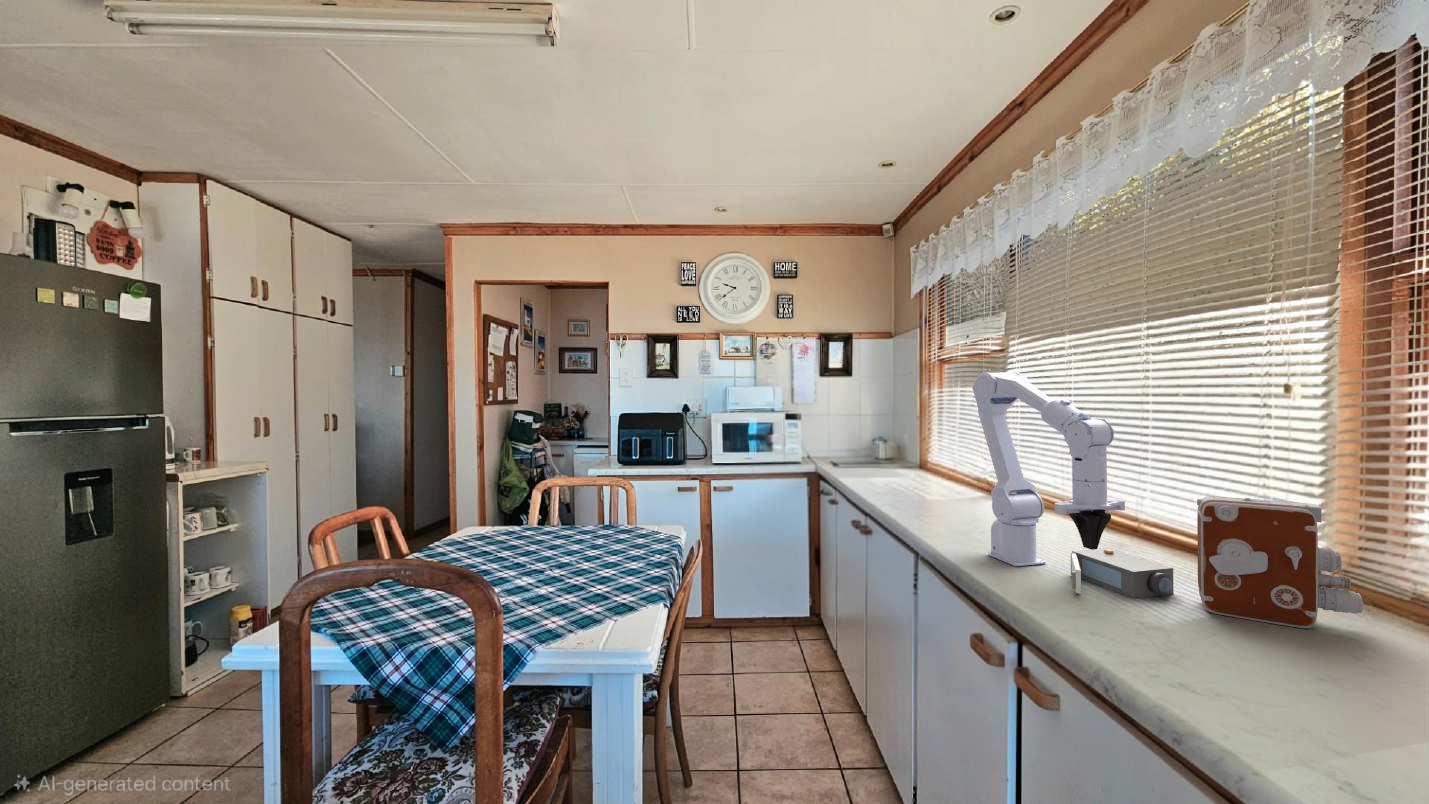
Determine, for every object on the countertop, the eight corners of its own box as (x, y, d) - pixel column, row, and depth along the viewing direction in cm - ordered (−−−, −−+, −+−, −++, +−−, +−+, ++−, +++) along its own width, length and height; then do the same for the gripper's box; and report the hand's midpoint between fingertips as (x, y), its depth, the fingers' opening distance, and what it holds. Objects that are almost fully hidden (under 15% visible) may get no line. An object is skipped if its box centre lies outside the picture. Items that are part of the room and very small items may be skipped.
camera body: (1072, 574, 117) (1071, 548, 117) (1108, 571, 119) (1108, 545, 119) (1142, 602, 102) (1142, 571, 102) (1183, 597, 103) (1183, 567, 103)
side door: (1068, 573, 117) (1067, 552, 117) (1076, 574, 117) (1075, 552, 116) (1072, 592, 106) (1072, 569, 106) (1081, 594, 106) (1080, 570, 106)
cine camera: (1371, 643, 84) (1370, 512, 84) (1201, 615, 96) (1200, 499, 95) (1351, 622, 91) (1351, 502, 91) (1196, 598, 103) (1195, 491, 103)
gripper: (1074, 484, 104) (1075, 556, 105) (1138, 481, 107) (1139, 550, 107) (1045, 479, 111) (1046, 546, 112) (1106, 475, 114) (1107, 541, 114)
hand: (1090, 548), depth 110 cm, fingers closed
